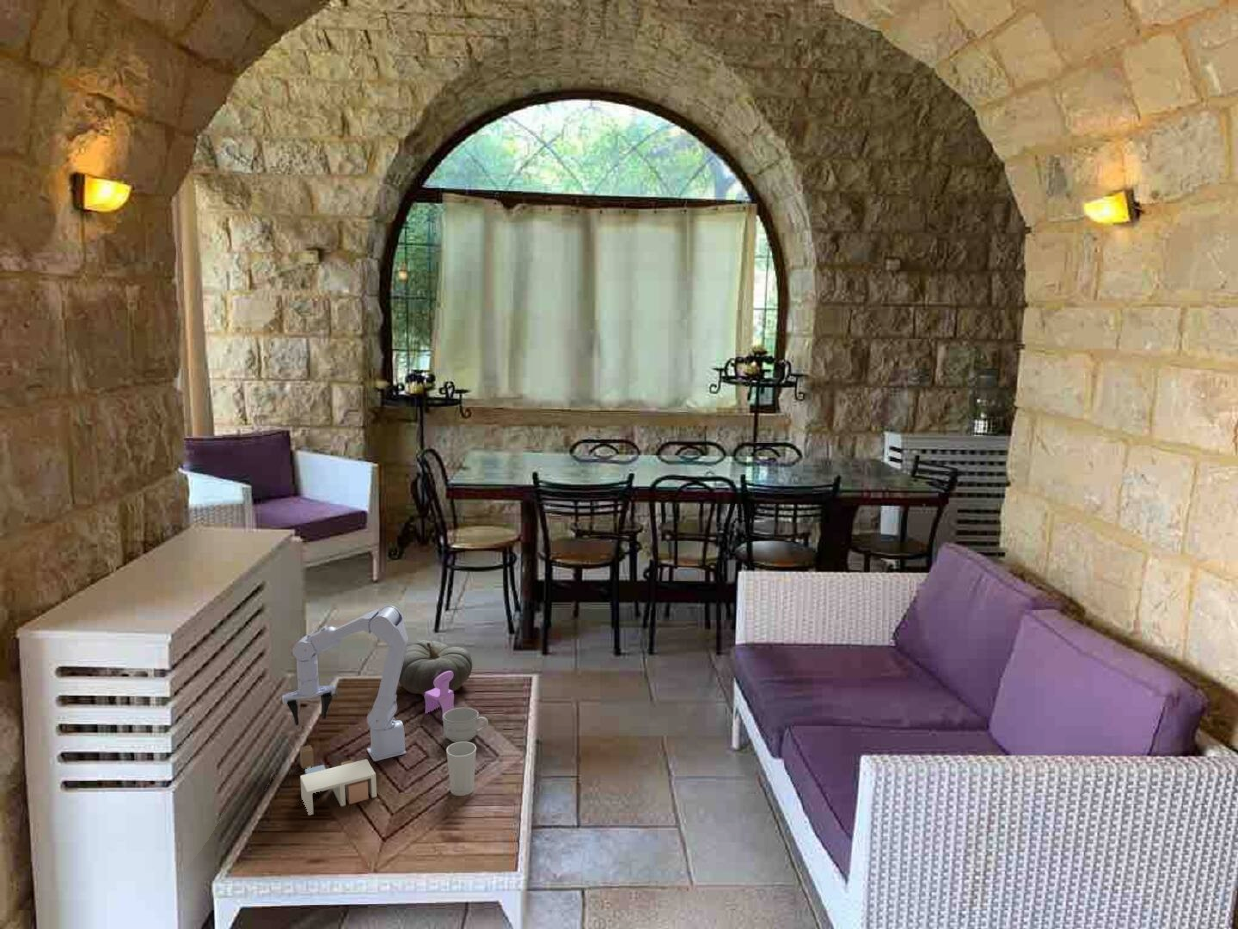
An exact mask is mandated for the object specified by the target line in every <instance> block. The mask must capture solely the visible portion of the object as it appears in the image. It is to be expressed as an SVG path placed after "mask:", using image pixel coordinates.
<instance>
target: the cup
mask: <svg viewBox="0 0 1238 929" xmlns="http://www.w3.org/2000/svg"><path fill="white" fill-rule="evenodd" d="M445 751H446V759H447V766H448V767H447V768H448V777H449V778H448V779H449V785H450V791H449V792H450V793H451V795H453V796H456V797H457V796H459V797H463V796H467V795H470V794H472V792H474V790H475V772H476V771H475V770H476V759H477V758H476V757H477V746H476V744H475V743H473V742H470V741H468V742H457V743H456V742H453V743H451V744H449V745H448V746H447V747H446V749H445Z"/></svg>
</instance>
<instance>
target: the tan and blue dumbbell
mask: <svg viewBox="0 0 1238 929" xmlns="http://www.w3.org/2000/svg"><path fill="white" fill-rule="evenodd" d="M299 758H300V766H301V769H302V768H303V769H304V768H307V769H305V770H304V775H305V774H309V773H313V772H317V771H321V770H325V769H327V768H326V766H325V765H324V764H321V765H316V766H315V765H314V749H313V747H312V745H311V744H309V745H305V746H300V747H299ZM311 767H312V768H311ZM303 769H302V770H303ZM329 790H330V789H328V790H324V791H323V792H326V791H329Z"/></svg>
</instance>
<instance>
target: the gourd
mask: <svg viewBox="0 0 1238 929" xmlns="http://www.w3.org/2000/svg"><path fill="white" fill-rule="evenodd" d="M471 657H472V656H471V654H470V653H469V651H468V650H467V649H466V648H463V647H459V646H452V647H450V646H449V645H447V644H446V643H443V642H441V641H437V640H432V641H431V640H427V639H423V640H422V639H419V640H416V641H415V642H414V643H413V644H412V645H410V646H407V649H406V653H405V657H404V661H403V666H402V670H401V674H400V678H399V682H398V684H400V686H401V687H402V688H404V689H405V690H406V691H408V692H410V693H411V694H416V695H417V694H418V695H422V696H423V697H424V695H425V692H427V691H430V690H432V689H434V688H435V686H434V684H433V682H434V680H435V679H436V677H438V676H439V675H440V674H442V673H444V672H446V671H452V672H453V678H452V680H451V681H450V682H449V690H452V691H453V692H455V691H458V690H459V689H460V688H461V687H462V686H463V684H465V683H466V682H467V680H468V679H469V678H470V676H471V674H472V670H473V661H472V658H471Z"/></svg>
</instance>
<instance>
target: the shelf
mask: <svg viewBox="0 0 1238 929" xmlns="http://www.w3.org/2000/svg"><path fill="white" fill-rule="evenodd" d="M299 777H300V794H301V797H300V798H301V801H302V800H303V801H302V803H303V802H304V803H303V805H305V806H304V808H305V807H306V808H305V810H306V809H307V810H306V812H308V813H307V815H308V816H312V815H314V802H313V795H314V794H313V793H315V794H317V793H316V792H319V793H321V792H320V791H322V792H325V791H324V790H326V791H329V790H332V792H333V793H334V795H335V798H336V799H337V801H338V803H339V805H340V807H344V806H346V796H345V785H347V784H350V783H354V782H358V781H362V780H367V781H368V794H369V795H370V796H371V798H376V797H378V796H377V794H378V793H377V773H376V772H375V771H374V768H373V767H372V765H371V764H370V762H369V760H368V759H367V758H364V759H362V760H357V761H353V763H349V764H345V765H337V766H334V767H331V768H326V769H325V770H321V771H317V772H313V773H309V774H305V773H304V774H302V775H300V776H299ZM328 789H329V790H328Z"/></svg>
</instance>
